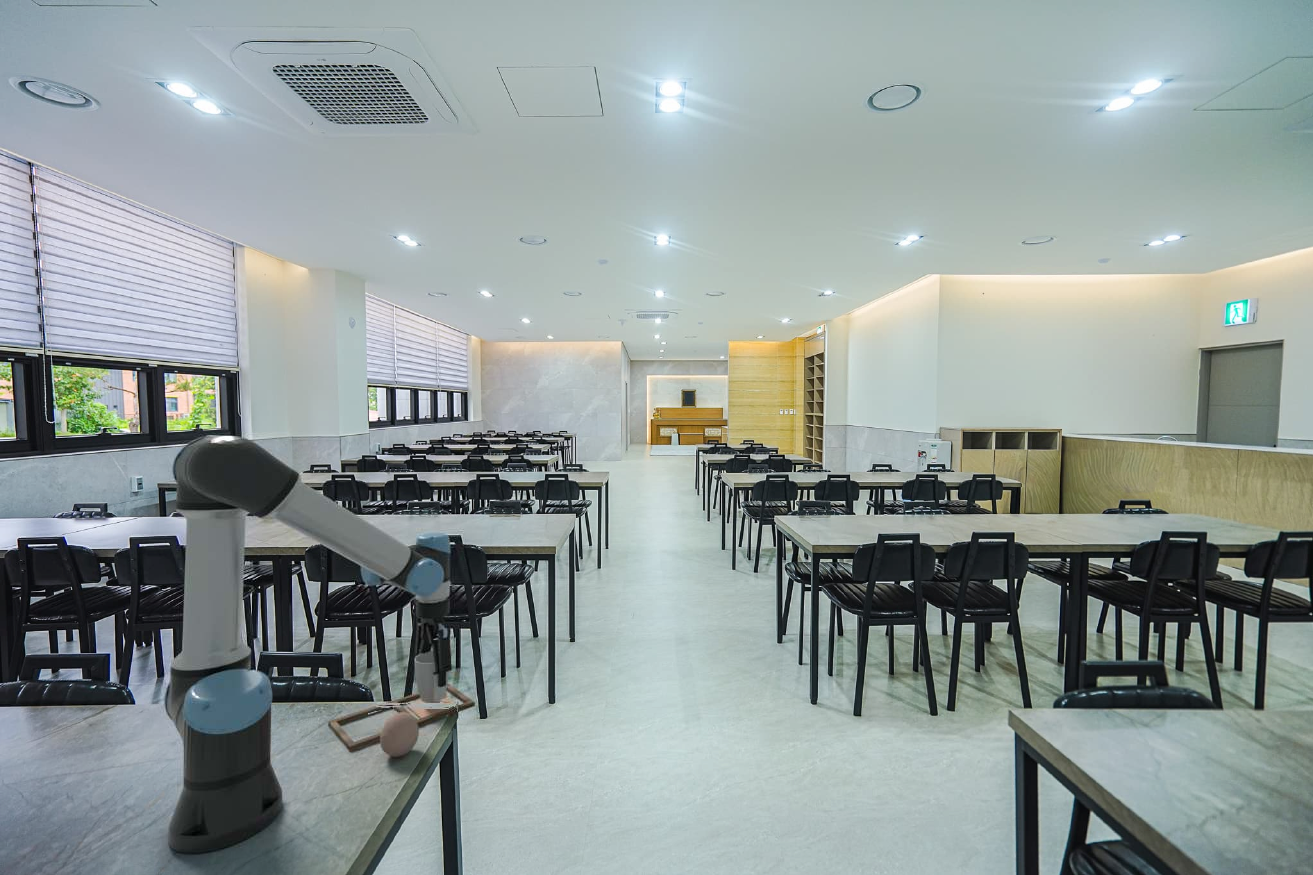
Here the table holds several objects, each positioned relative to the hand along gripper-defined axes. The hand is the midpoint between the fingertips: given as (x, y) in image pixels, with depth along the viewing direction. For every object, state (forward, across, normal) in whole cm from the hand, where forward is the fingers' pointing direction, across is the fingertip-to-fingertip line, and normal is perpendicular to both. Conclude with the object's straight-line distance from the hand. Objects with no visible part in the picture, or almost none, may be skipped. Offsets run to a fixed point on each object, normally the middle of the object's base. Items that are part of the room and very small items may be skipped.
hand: (432, 693), depth 134 cm
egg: (+3, -16, +14) cm, 21 cm away
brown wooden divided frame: (+3, 0, +7) cm, 7 cm away
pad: (+3, 0, 0) cm, 3 cm away
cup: (+1, 0, 0) cm, 1 cm away
